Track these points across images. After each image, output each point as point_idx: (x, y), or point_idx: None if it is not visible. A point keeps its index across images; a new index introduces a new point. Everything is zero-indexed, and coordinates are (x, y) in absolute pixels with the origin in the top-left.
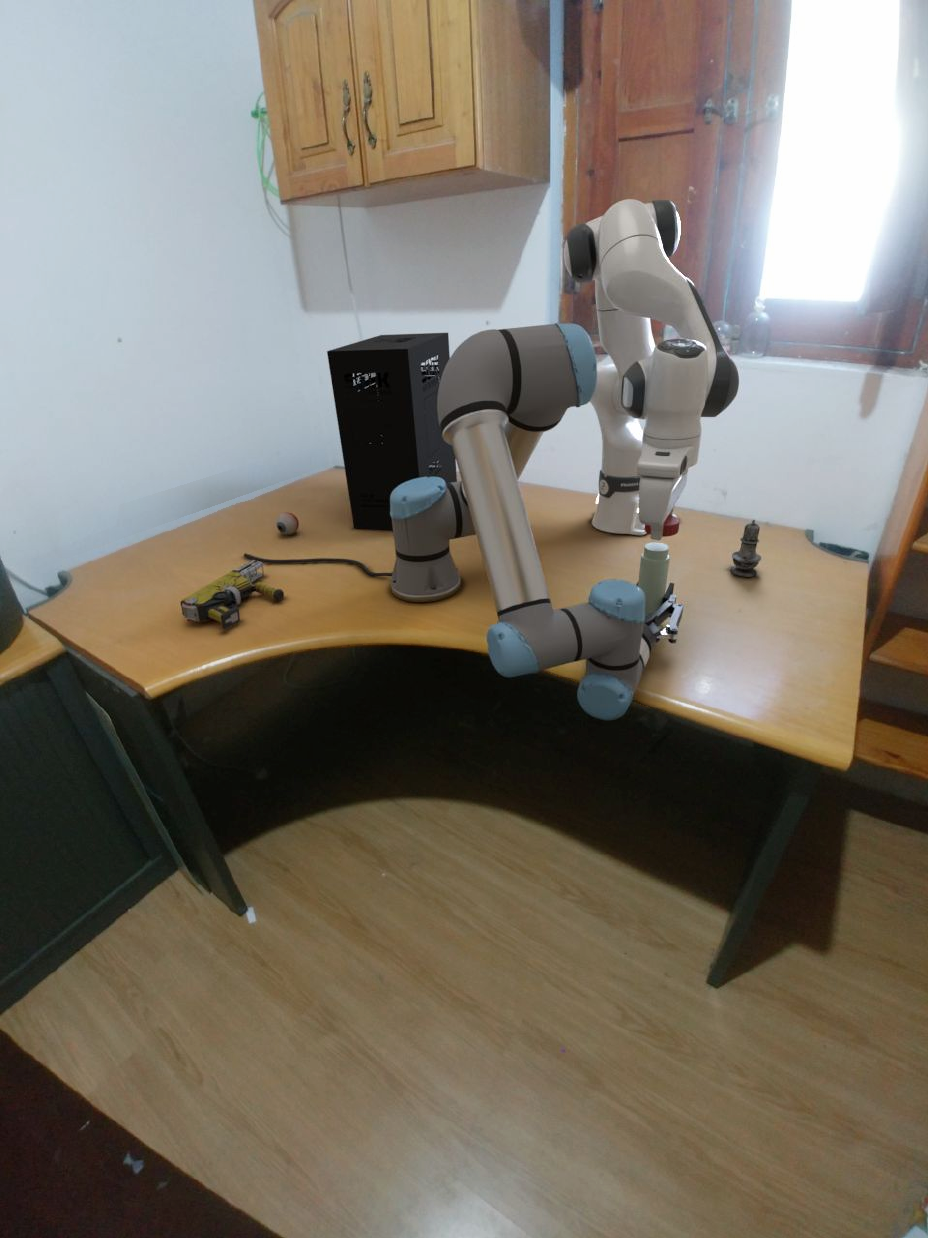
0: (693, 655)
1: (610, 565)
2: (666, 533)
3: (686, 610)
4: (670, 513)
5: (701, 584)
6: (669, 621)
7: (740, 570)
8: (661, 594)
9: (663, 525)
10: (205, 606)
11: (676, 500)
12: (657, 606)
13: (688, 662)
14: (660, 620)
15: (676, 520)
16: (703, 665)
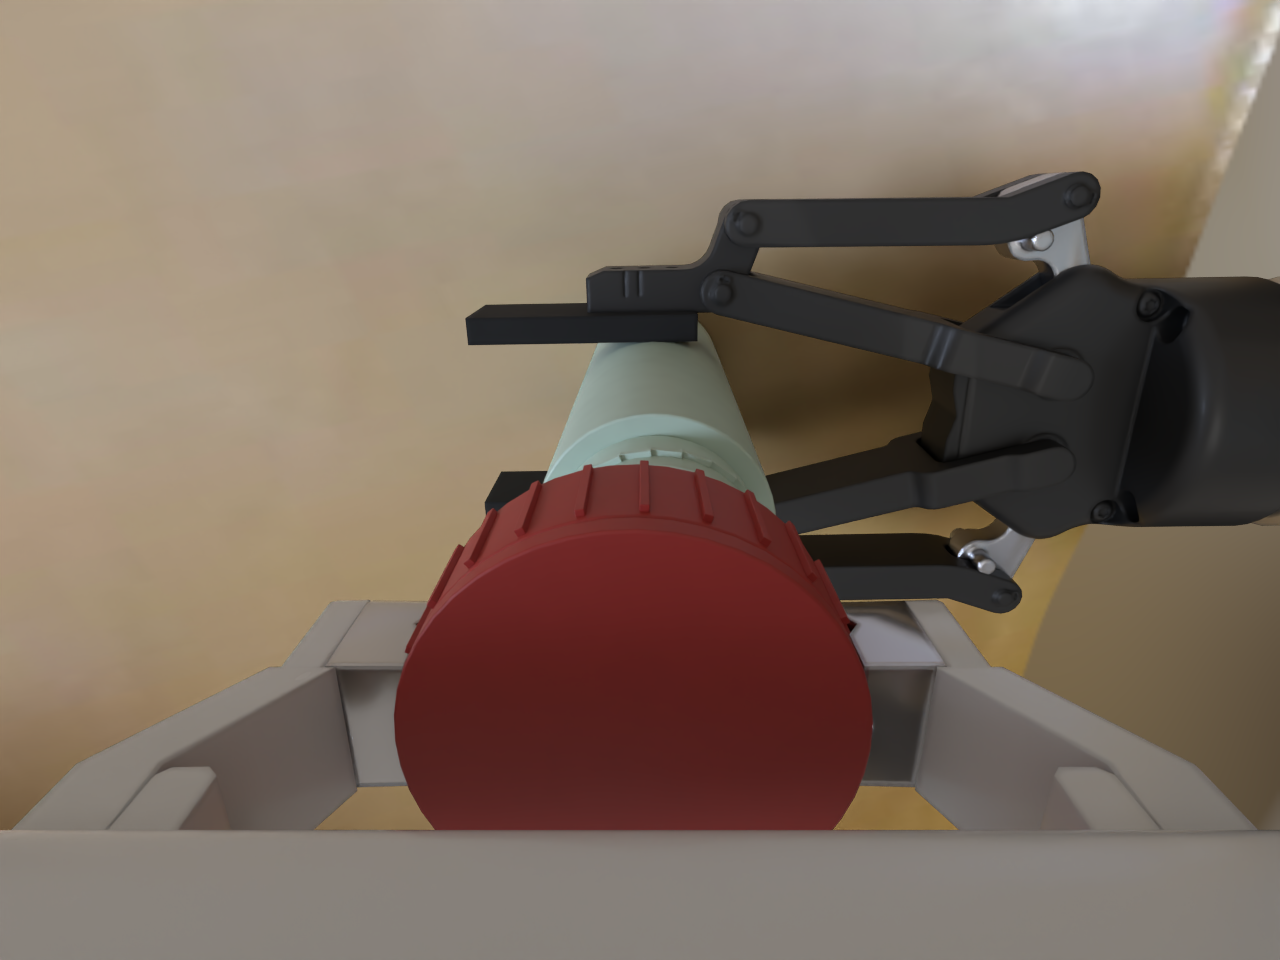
0: (829, 96)
1: (124, 662)
2: (828, 583)
3: (388, 219)
4: (318, 695)
5: (43, 195)
6: (986, 243)
7: None
8: (703, 359)
9: (1021, 712)
10: None
11: (503, 893)
12: (711, 355)
13: (901, 109)
14: (875, 304)
15: (596, 571)
16: (909, 27)
